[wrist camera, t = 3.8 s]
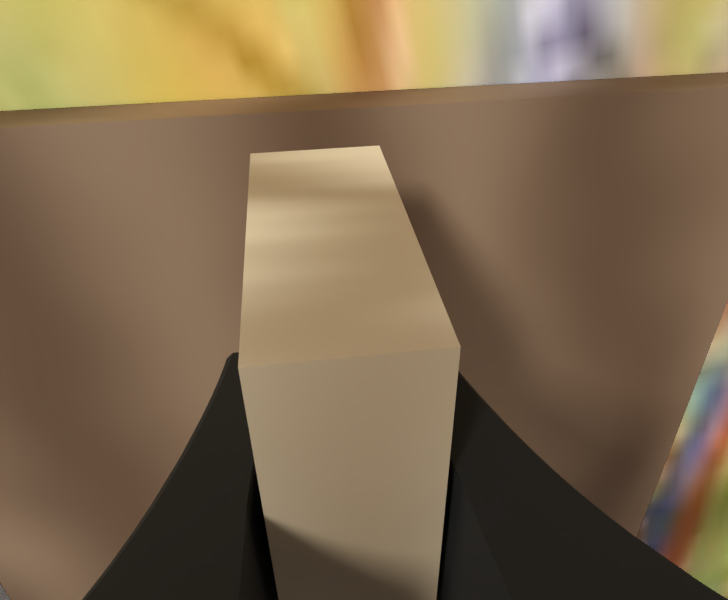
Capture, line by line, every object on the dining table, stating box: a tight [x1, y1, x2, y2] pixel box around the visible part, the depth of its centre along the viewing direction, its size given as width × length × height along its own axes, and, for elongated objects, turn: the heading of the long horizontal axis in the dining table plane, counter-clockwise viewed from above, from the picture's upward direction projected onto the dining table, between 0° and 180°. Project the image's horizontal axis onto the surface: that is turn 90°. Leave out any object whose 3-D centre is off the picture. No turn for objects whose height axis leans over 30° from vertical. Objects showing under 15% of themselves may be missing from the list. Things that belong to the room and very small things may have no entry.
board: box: [0, 72, 728, 600], centre depth 20 cm, size 20×28×1 cm
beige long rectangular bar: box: [238, 146, 461, 600], centre depth 11 cm, size 2×11×5 cm, turn 1°
